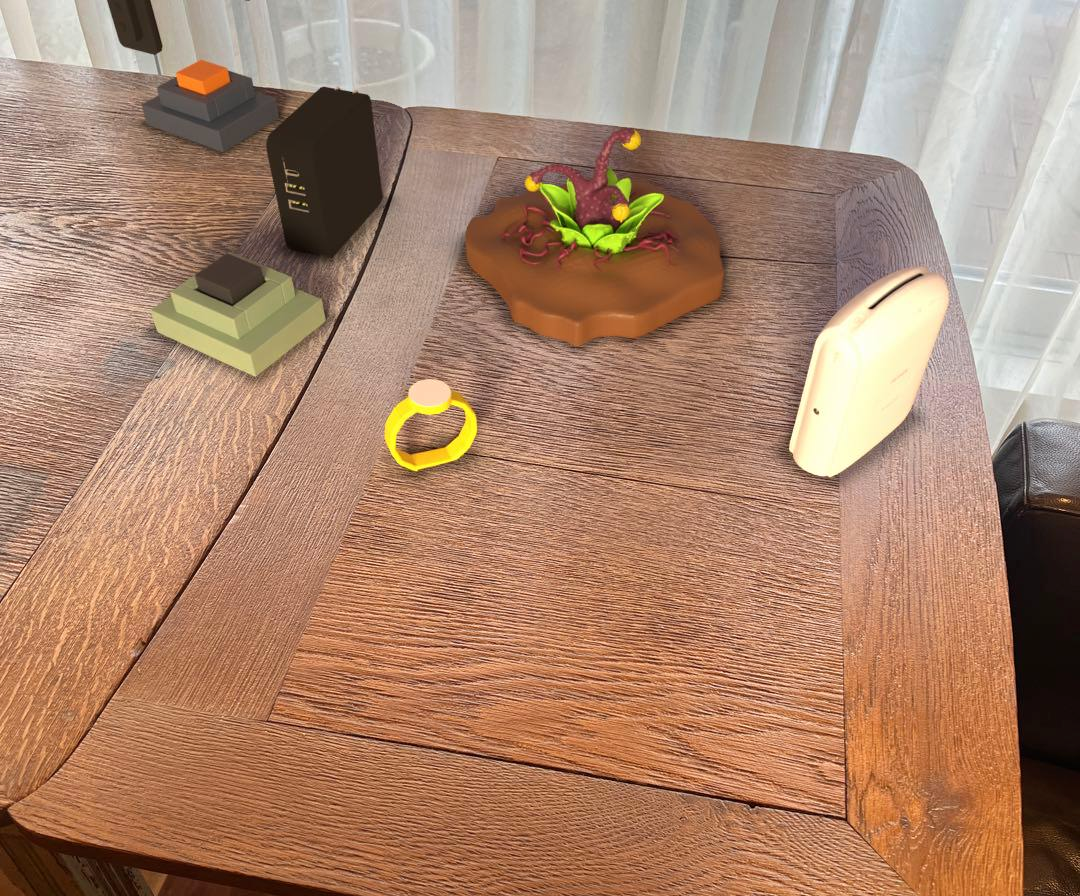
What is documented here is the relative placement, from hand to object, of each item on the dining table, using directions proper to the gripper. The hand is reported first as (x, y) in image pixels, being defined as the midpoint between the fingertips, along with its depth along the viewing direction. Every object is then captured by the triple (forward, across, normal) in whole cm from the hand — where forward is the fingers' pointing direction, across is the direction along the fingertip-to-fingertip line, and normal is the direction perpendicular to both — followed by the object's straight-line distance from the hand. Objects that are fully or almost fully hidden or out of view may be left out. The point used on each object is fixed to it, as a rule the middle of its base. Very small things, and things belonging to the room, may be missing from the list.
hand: (190, 21), depth 70 cm
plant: (+20, -13, +26) cm, 35 cm away
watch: (+20, +13, +25) cm, 34 cm away
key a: (+16, +7, +5) cm, 18 cm away
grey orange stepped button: (+19, -18, -18) cm, 32 cm away
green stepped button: (+19, +7, +5) cm, 21 cm away
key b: (+16, -18, -18) cm, 30 cm away
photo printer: (+20, -2, +50) cm, 53 cm away
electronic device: (+20, -8, +3) cm, 21 cm away
